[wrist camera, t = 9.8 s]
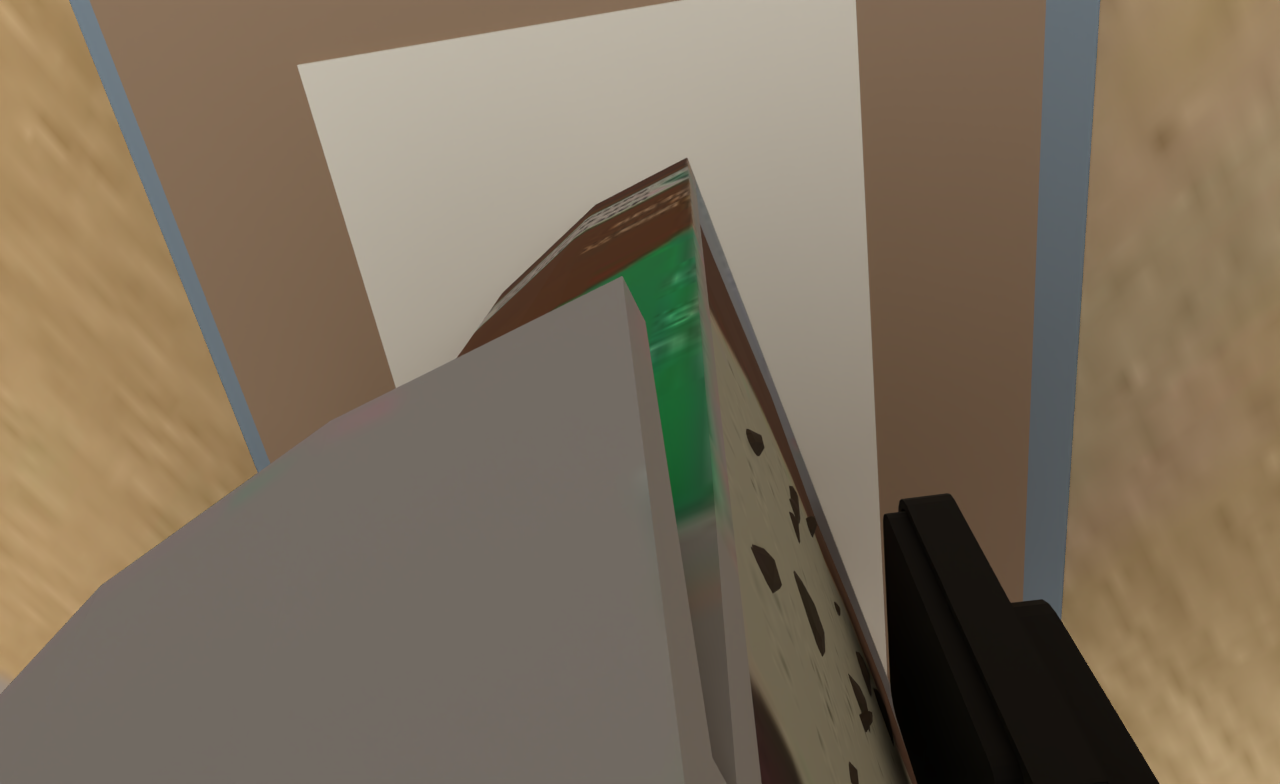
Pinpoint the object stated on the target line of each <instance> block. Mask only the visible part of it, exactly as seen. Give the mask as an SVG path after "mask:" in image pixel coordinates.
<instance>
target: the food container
mask: <svg viewBox="0 0 1280 784" xmlns="http://www.w3.org/2000/svg"><path fill="white" fill-rule="evenodd" d="M0 784H917V781H916V778H915V775H914V772H913V769H912V766H911V763H910V759H909V756H908V753H907V750H906V747H905V744H904V741H903V738H902V734H901V731H900V728H899V725H898V722H897V719H896V715H895V711H894V707H893V702H892V696H891V688H890V682H889V680H888V677H887V675H886V672H885V669H884V667H883V664H882V662H881V659H880V656H879V654H878V651H877V649H876V646H875V643H874V641H873V638H872V636H871V633H870V631H869V628H868V625H867V623H866V620H865V618H864V615H863V612H862V610H861V607H860V605H859V602H858V599H857V597H856V594H855V592H854V589H853V586H852V584H851V581H850V579H849V576H848V573H847V571H846V568H845V566H844V563H843V560H842V558H841V555H840V553H839V550H838V547H837V545H836V542H835V540H834V537H833V534H832V532H831V529H830V527H829V524H828V522H827V519H826V516H825V514H824V511H823V509H822V506H821V503H820V501H819V498H818V496H817V493H816V490H815V488H814V485H813V483H812V480H811V477H810V475H809V472H808V470H807V467H806V464H805V462H804V459H803V457H802V454H801V451H800V449H799V446H798V444H797V441H796V438H795V436H794V433H793V431H792V428H791V426H790V423H789V420H788V418H787V415H786V413H785V410H784V407H783V405H782V402H781V400H780V397H779V394H778V392H777V389H776V387H775V384H774V381H773V379H772V376H771V374H770V371H769V368H768V366H767V363H766V361H765V358H764V355H763V353H762V350H761V348H760V345H759V342H758V340H757V337H756V335H755V332H754V329H753V327H752V324H751V322H750V319H749V317H748V314H747V311H746V309H745V306H744V304H743V301H742V298H741V296H740V293H739V291H738V288H737V285H736V283H735V280H734V278H733V275H732V272H731V270H730V267H729V265H728V262H727V259H726V257H725V254H724V252H723V249H722V246H721V244H720V241H719V239H718V236H717V233H716V231H715V228H714V226H713V223H712V220H711V218H710V215H709V213H708V210H707V208H706V205H705V202H704V200H703V197H702V195H701V192H700V189H699V187H698V184H697V182H696V179H695V176H694V174H693V171H692V169H691V166H690V163H689V161H688V158H685V159H683V160H681V161H679V162H677V163H675V164H673V165H671V166H669V167H667V168H666V169H664V170H662V171H660V172H658V173H656V174H654V175H652V176H650V177H648V178H646V179H644V180H642V181H640V182H638V183H637V184H635V185H633V186H631V187H629V188H627V189H625V190H623V191H621V192H619V193H617V194H615V195H613V196H611V197H609V198H608V199H606V200H604V201H602V202H600V203H598V204H596V205H595V206H594V207H592V208H591V209H590V210H589V211H588V212H587V213H586V214H585V215H584V216H583V217H582V218H581V219H580V220H579V221H578V222H577V223H576V224H575V225H573V226H572V227H571V228H570V229H569V230H568V231H567V232H566V233H565V234H564V235H563V236H562V237H561V238H560V239H559V240H558V241H557V242H556V243H554V244H553V245H552V246H551V247H550V248H549V249H548V250H547V251H546V252H545V253H544V254H543V255H542V256H541V257H540V258H539V259H538V260H537V261H536V262H534V263H533V264H532V265H531V266H530V267H529V268H528V269H527V270H526V271H525V272H524V273H523V274H522V275H521V276H520V277H519V278H518V279H517V280H515V281H514V282H513V283H512V284H511V285H510V286H509V287H508V288H507V289H506V290H505V291H504V292H503V293H502V294H501V296H500V297H499V298H498V300H497V301H496V303H495V304H494V306H493V307H492V308H491V310H490V311H489V313H488V314H487V316H486V317H485V318H484V320H483V321H482V323H481V324H480V326H479V327H478V328H477V330H476V331H475V333H474V334H473V336H472V337H471V338H470V340H469V341H468V343H467V344H466V345H465V347H464V348H463V350H462V351H461V353H460V354H459V355H458V357H457V358H456V359H454V360H452V361H450V362H448V363H446V364H444V365H442V366H440V367H438V368H436V369H434V370H432V371H430V372H428V373H426V374H424V375H422V376H420V377H418V378H416V379H414V380H412V381H410V382H408V383H406V384H404V385H401V386H399V387H397V388H395V389H393V390H391V391H389V392H387V393H385V394H383V395H381V396H379V397H377V398H375V399H373V400H371V401H369V402H367V403H365V404H363V405H361V406H359V407H357V408H355V409H353V410H351V411H349V412H347V413H345V414H343V415H341V416H339V417H337V418H335V419H333V420H331V421H329V422H328V423H327V424H325V425H324V426H322V427H321V428H320V429H318V430H317V431H315V432H314V433H313V434H311V435H310V436H308V437H307V438H306V439H304V440H303V441H302V442H300V443H299V444H297V445H296V446H295V447H293V448H292V449H290V450H289V451H288V452H286V453H285V454H283V455H282V456H281V457H279V458H278V459H276V460H275V461H274V462H272V463H271V464H269V465H268V466H267V467H265V468H264V469H263V470H261V471H260V472H258V473H257V474H256V475H254V476H253V477H251V478H250V479H249V480H247V481H246V482H244V483H243V484H242V485H240V486H239V487H237V488H236V489H235V490H233V491H232V492H231V493H229V494H228V495H226V496H225V497H224V498H222V499H221V500H219V501H218V502H217V503H215V504H214V505H212V506H211V507H210V508H208V509H207V510H205V511H204V512H203V513H201V514H200V515H199V516H197V517H196V518H194V519H193V520H192V521H190V522H189V523H187V524H186V525H185V526H183V527H182V528H180V529H179V530H178V531H176V532H175V533H173V534H172V535H171V536H169V537H168V538H167V539H165V540H164V541H162V542H161V543H160V544H158V545H157V546H155V547H154V548H153V549H151V550H150V551H148V552H147V553H146V554H144V555H143V556H141V557H140V558H139V559H137V560H136V561H135V562H133V563H132V564H130V565H129V566H128V567H126V568H125V569H123V570H122V571H121V572H119V573H118V574H116V575H115V576H114V577H112V578H111V579H109V580H108V581H107V582H105V583H104V584H102V585H101V586H100V587H99V588H98V589H97V590H96V591H95V592H94V594H93V595H92V596H91V597H90V598H89V599H88V600H87V601H86V602H85V603H84V604H83V605H82V607H81V608H80V609H79V610H78V611H77V612H76V613H75V614H74V615H73V616H72V617H71V618H70V619H69V621H68V622H67V623H66V624H65V625H64V626H63V627H62V628H61V629H60V630H59V631H58V632H57V634H56V635H55V636H54V637H53V638H52V639H51V640H50V641H49V642H48V643H47V644H46V645H45V647H44V648H43V649H42V650H41V651H40V652H39V653H38V654H37V655H36V656H35V657H34V658H33V659H32V661H31V662H30V663H29V664H28V665H27V666H26V667H25V668H24V669H23V670H22V671H21V672H20V674H19V675H18V676H17V677H16V678H15V679H14V680H13V681H12V682H11V683H10V684H9V685H8V687H7V688H6V689H5V690H4V691H3V692H2V693H1V694H0Z"/></svg>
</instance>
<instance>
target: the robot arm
mask: <svg viewBox="0 0 1280 784" xmlns="http://www.w3.org/2000/svg"><path fill="white" fill-rule="evenodd" d="M883 537H884V559H885V582H886V604H887V626H888V648H889V670H890V688H891V696H892V702H893V707H894V711H895V715H896V719H897V722H898V725H899V728H900V731H901V734H902V738H903V741H904V744H905V747H906V750H907V753H908V756H909V759H910V763H911V766H912V769H913V772H914V775H915V778H916V781H917V784H1159V782H1158V781H1157V779H1156V777H1155V776H1154V774H1153V772H1152V771H1151V769H1150V767H1149V766H1148V764H1147V762H1146V761H1145V759H1144V757H1143V756H1142V754H1141V752H1140V751H1139V749H1138V747H1137V746H1136V744H1135V742H1134V741H1133V739H1132V737H1131V736H1130V734H1129V733H1128V731H1127V729H1126V728H1125V726H1124V724H1123V723H1122V721H1121V719H1120V718H1119V716H1118V714H1117V713H1116V711H1115V709H1114V708H1113V706H1112V704H1111V703H1110V701H1109V699H1108V698H1107V696H1106V694H1105V693H1104V691H1103V689H1102V688H1101V686H1100V684H1099V683H1098V681H1097V680H1096V678H1095V676H1094V675H1093V673H1092V671H1091V670H1090V668H1089V666H1088V665H1087V663H1086V661H1085V660H1084V658H1083V656H1082V655H1081V653H1080V651H1079V650H1078V648H1077V646H1076V645H1075V643H1074V641H1073V640H1072V638H1071V636H1070V635H1069V633H1068V631H1067V630H1066V628H1065V627H1064V625H1063V623H1062V622H1061V620H1060V618H1059V617H1058V615H1057V613H1056V612H1055V611H1054V609H1053V608H1052V607H1051V605H1050V604H1049V603H1048V602H1046V601H1044V600H1043V599H1039V600H1031V601H1022V602H1013V603H1011V602H1010V601H1009V599H1008V597H1007V595H1006V593H1005V591H1004V590H1003V588H1002V586H1001V584H1000V582H999V580H998V578H997V577H996V575H995V573H994V571H993V569H992V567H991V566H990V564H989V562H988V560H987V558H986V556H985V555H984V553H983V551H982V549H981V547H980V545H979V544H978V542H977V540H976V538H975V536H974V534H973V533H972V531H971V529H970V527H969V525H968V523H967V522H966V520H965V518H964V516H963V514H962V512H961V511H960V509H959V507H958V505H957V503H956V501H955V500H954V498H953V497H952V495H951V494H949V493H945V494H937V495H929V496H921V497H913V498H905V499H901V500H900V501H899V506H898V512H894V513H886V514H884V516H883Z"/></svg>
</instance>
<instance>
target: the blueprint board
mask: <svg viewBox="0 0 1280 784" xmlns="http://www.w3.org/2000/svg"><path fill="white" fill-rule="evenodd" d="M69 1H70V4H71V6H72V9H73V11H74V14H75V16H76V19H77V21H78V24H79V26H80V29H81V31H82V34H83V36H84V39H85V41H86V44H87V46H88V49H89V51H90V54H91V56H92V59H93V61H94V64H95V66H96V69H97V71H98V74H99V76H100V79H101V81H102V84H103V86H104V89H105V91H106V94H107V96H108V99H109V101H110V104H111V106H112V109H113V111H114V114H115V116H116V119H117V121H118V124H119V126H120V129H121V131H122V134H123V136H124V139H125V141H126V144H127V146H128V149H129V151H130V154H131V156H132V159H133V161H134V164H135V166H136V169H137V171H138V174H139V176H140V179H141V181H142V184H143V186H144V189H145V191H146V194H147V196H148V199H149V201H150V204H151V206H152V209H153V211H154V214H155V216H156V219H157V221H158V224H159V226H160V229H161V231H162V234H163V236H164V239H165V241H166V244H167V246H168V249H169V251H170V254H171V256H172V259H173V261H174V264H175V266H176V269H177V271H178V274H179V276H180V279H181V281H182V284H183V286H184V289H185V291H186V294H187V296H188V299H189V301H190V304H191V306H192V309H193V311H194V314H195V316H196V319H197V321H198V324H199V326H200V329H201V331H202V334H203V336H204V339H205V341H206V344H207V346H208V349H209V351H210V354H211V356H212V359H213V361H214V364H215V366H216V369H217V371H218V374H219V376H220V379H221V381H222V384H223V386H224V389H225V391H226V394H227V396H228V399H229V401H230V404H231V406H232V409H233V411H234V414H235V416H236V419H237V421H238V424H239V426H240V429H241V431H242V434H243V436H244V439H245V441H246V444H247V446H248V449H249V451H250V454H251V456H252V459H253V461H254V464H255V466H256V469H257V471H258V472H260V471H261V470H263V469H264V468H265V467H267V466H268V465H269V464H271V463H272V462H274V461H275V460H276V459H278V458H279V457H281V456H282V455H283V454H285V453H286V452H288V451H289V450H290V449H292V448H293V447H295V446H296V445H297V444H299V443H300V442H302V441H303V440H304V439H306V438H307V437H308V436H310V435H311V434H313V433H314V432H315V431H317V430H318V429H320V428H321V427H322V426H324V425H325V424H327V423H328V422H329V421H331V420H333V419H335V418H337V417H339V416H341V415H343V414H345V413H347V412H349V411H351V410H353V409H355V408H357V407H359V406H361V405H363V404H365V403H367V402H369V401H371V400H373V399H375V398H377V397H379V396H381V395H383V394H385V393H387V392H389V391H391V390H393V389H395V388H397V387H399V386H401V385H404V384H406V383H408V382H410V381H412V380H414V379H416V378H418V377H420V376H422V375H424V374H426V373H428V372H430V371H432V370H434V369H436V368H438V367H440V366H442V365H444V364H446V363H448V362H450V361H452V360H454V359H456V358H457V357H458V355H459V354H460V353H461V351H462V350H463V348H464V347H465V345H466V344H467V343H468V341H469V340H470V338H471V337H472V336H473V334H474V333H475V331H476V330H477V328H478V327H479V326H480V324H481V323H482V321H483V320H484V318H485V317H486V316H487V314H488V313H489V311H490V310H491V308H492V307H493V306H494V304H495V303H496V301H497V300H498V298H499V297H500V296H501V294H502V293H503V292H504V291H505V290H506V289H507V288H508V287H509V286H510V285H511V284H512V283H513V282H514V281H515V280H517V279H518V278H519V277H520V276H521V275H522V274H523V273H524V272H525V271H526V270H527V269H528V268H529V267H530V266H531V265H532V264H533V263H534V262H536V261H537V260H538V259H539V258H540V257H541V256H542V255H543V254H544V253H545V252H546V251H547V250H548V249H549V248H550V247H551V246H552V245H553V244H554V243H556V242H557V241H558V240H559V239H560V238H561V237H562V236H563V235H564V234H565V233H566V232H567V231H568V230H569V229H570V228H571V227H572V226H573V225H575V224H576V223H577V222H578V221H579V220H580V219H581V218H582V217H583V216H584V215H585V214H586V213H587V212H588V211H589V210H590V209H591V208H592V207H594V206H595V205H596V204H598V203H600V202H602V201H604V200H606V199H608V198H609V197H611V196H613V195H615V194H617V193H619V192H621V191H623V190H625V189H627V188H629V187H631V186H633V185H635V184H637V183H638V182H640V181H642V180H644V179H646V178H648V177H650V176H652V175H654V174H656V173H658V172H660V171H662V170H664V169H666V168H667V167H669V166H671V165H673V164H675V163H677V162H679V161H681V160H683V159H685V158H688V161H689V163H690V166H691V169H692V171H693V174H694V176H695V179H696V182H697V184H698V187H699V189H700V192H701V195H702V197H703V200H704V202H705V205H706V208H707V210H708V213H709V215H710V218H711V220H712V223H713V226H714V228H715V231H716V233H717V236H718V239H719V241H720V244H721V246H722V249H723V252H724V254H725V257H726V259H727V262H728V265H729V267H730V270H731V272H732V275H733V278H734V280H735V283H736V285H737V288H738V291H739V293H740V296H741V298H742V301H743V304H744V306H745V309H746V311H747V314H748V317H749V319H750V322H751V324H752V327H753V329H754V332H755V335H756V337H757V340H758V342H759V345H760V348H761V350H762V353H763V355H764V358H765V361H766V363H767V366H768V368H769V371H770V374H771V376H772V379H773V381H774V384H775V387H776V389H777V392H778V394H779V397H780V400H781V402H782V405H783V407H784V410H785V413H786V415H787V418H788V420H789V423H790V426H791V428H792V431H793V433H794V436H795V438H796V441H797V444H798V446H799V449H800V451H801V454H802V457H803V459H804V462H805V464H806V467H807V470H808V472H809V475H810V477H811V480H812V483H813V485H814V488H815V490H816V493H817V496H818V498H819V501H820V503H821V506H822V509H823V511H824V514H825V516H826V519H827V522H828V524H829V527H830V529H831V532H832V534H833V537H834V540H835V542H836V545H837V547H838V550H839V553H840V555H841V558H842V560H843V563H844V566H845V568H846V571H847V573H848V576H849V579H850V581H851V584H852V586H853V589H854V592H855V594H856V597H857V599H858V602H859V605H860V607H861V610H862V612H863V615H864V618H865V620H866V623H867V625H868V628H869V631H870V633H871V636H872V638H873V641H874V643H875V646H876V649H877V651H878V654H879V656H880V659H881V662H882V664H883V667H884V669H885V672H886V675H887V677H888V680H889V682H890V670H889V648H888V626H887V604H886V582H885V559H884V537H883V516H884V514H886V513H894V512H898V506H899V501H900V500H901V499H905V498H913V497H921V496H929V495H937V494H945V493H949V494H951V495H952V497H953V498H954V500H955V501H956V503H957V505H958V507H959V509H960V511H961V512H962V514H963V516H964V518H965V520H966V522H967V523H968V525H969V527H970V529H971V531H972V533H973V534H974V536H975V538H976V540H977V542H978V544H979V545H980V547H981V549H982V551H983V553H984V555H985V556H986V558H987V560H988V562H989V564H990V566H991V567H992V569H993V571H994V573H995V575H996V577H997V578H998V580H999V582H1000V584H1001V586H1002V588H1003V590H1004V591H1005V593H1006V595H1007V597H1008V599H1009V601H1010V602H1011V603H1013V602H1022V601H1031V600H1039V599H1043V600H1044V601H1046V602H1048V603H1049V604H1050V605H1051V607H1052V608H1053V609H1054V611H1055V612H1056V613H1057V615H1058V617H1059V618H1060V620H1061V614H1062V598H1063V582H1064V566H1065V551H1066V535H1067V519H1068V503H1069V487H1070V471H1071V455H1072V439H1073V423H1074V408H1075V392H1076V376H1077V360H1078V344H1079V328H1080V312H1081V296H1082V280H1083V265H1084V249H1085V233H1086V217H1087V201H1088V185H1089V169H1090V153H1091V137H1092V122H1093V106H1094V90H1095V74H1096V58H1097V42H1098V26H1099V10H1100V0H69Z"/></svg>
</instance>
